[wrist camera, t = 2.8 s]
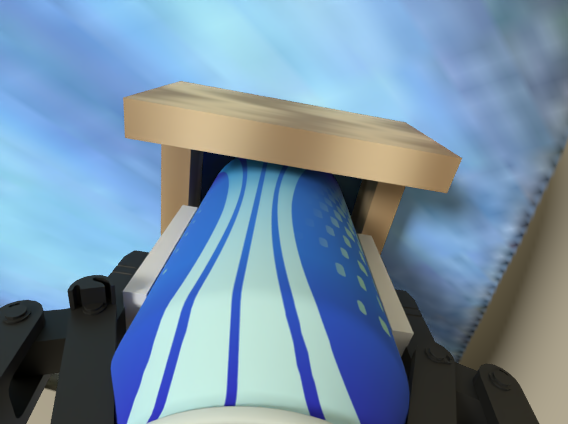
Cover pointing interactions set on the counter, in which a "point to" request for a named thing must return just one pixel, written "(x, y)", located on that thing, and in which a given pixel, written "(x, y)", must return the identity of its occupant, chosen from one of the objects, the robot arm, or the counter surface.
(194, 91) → the oak holder
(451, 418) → the robot arm
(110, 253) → the counter surface
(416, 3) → the counter surface
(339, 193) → the beer can
